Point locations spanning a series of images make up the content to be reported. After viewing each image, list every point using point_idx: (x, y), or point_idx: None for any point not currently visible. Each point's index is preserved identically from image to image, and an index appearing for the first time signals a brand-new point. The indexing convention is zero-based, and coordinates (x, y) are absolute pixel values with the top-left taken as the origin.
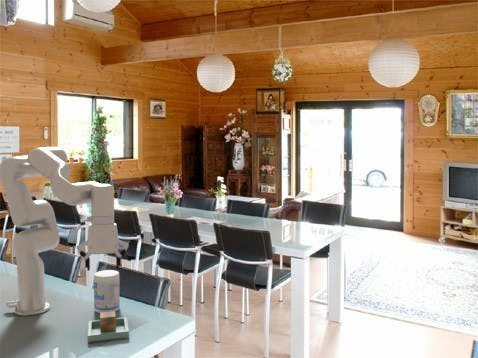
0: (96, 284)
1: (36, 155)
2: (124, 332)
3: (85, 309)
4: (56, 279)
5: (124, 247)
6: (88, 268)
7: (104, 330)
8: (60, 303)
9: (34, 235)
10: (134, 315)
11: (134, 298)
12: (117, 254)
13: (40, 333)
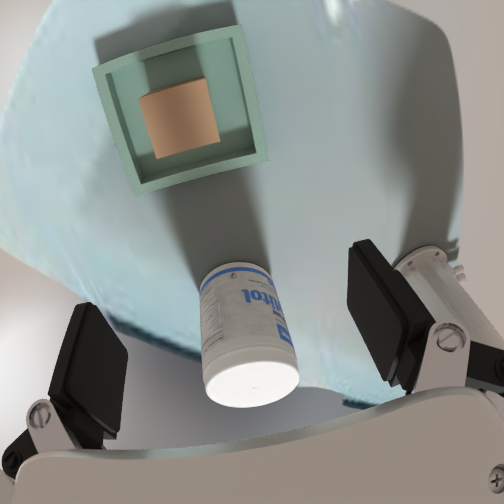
0: (282, 335)
1: None
2: (107, 62)
3: (299, 288)
4: (364, 395)
5: (11, 496)
6: (366, 251)
7: (189, 80)
8: None
9: None
10: (137, 252)
11: (181, 351)
12: (53, 435)
13: (397, 130)
